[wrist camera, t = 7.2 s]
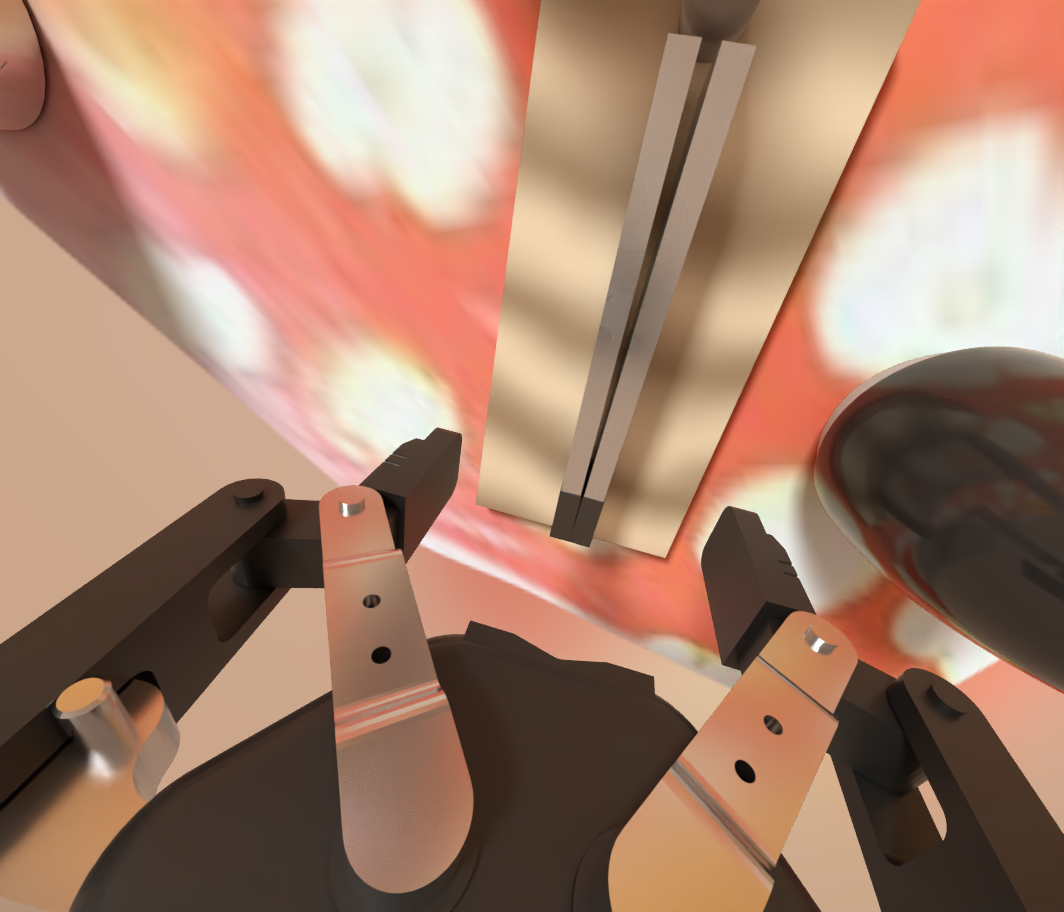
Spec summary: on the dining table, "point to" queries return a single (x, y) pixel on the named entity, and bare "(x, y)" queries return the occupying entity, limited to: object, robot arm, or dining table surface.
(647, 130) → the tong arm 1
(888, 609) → the dining table surface
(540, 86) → the tong board
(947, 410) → the pump dispenser
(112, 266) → the dining table surface
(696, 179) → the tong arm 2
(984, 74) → the dining table surface
